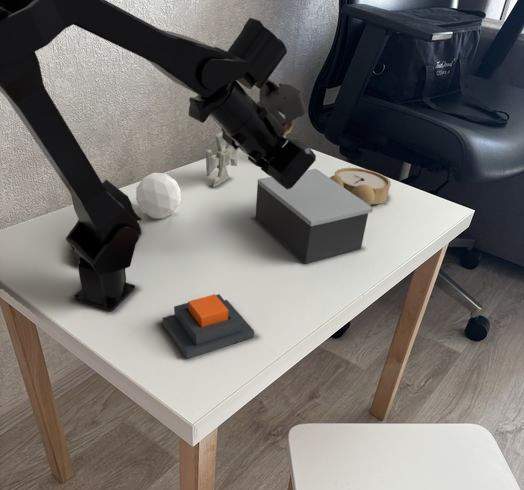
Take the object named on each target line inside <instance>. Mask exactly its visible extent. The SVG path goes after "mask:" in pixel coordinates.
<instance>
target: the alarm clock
mask: <svg viewBox="0 0 524 490" xmlns="http://www.w3.org/2000/svg"><path fill="white" fill-rule="evenodd" d="M329 178H330V179H332V180H333V181H335V182H336V183H338V184H339V185H340V186H342V187H343V188H345V189H346V190H348V191H349V192H351V193H352V194H354V195H355V196H356V197H358V198H359V199H361V200H362V201H364V202H365V203H367V204H368V205H370V206H371V207H372V205H380V204H383V203H385V202H386V201H387V200H388V196H389V191H390V187H391V185H392V183H391V180H390V179H389V178H388V177H387V176H385V175H383V174H382V173H379V172H376V171H373V170H370V169H367V168H359V167H343V168H340V169H337V170H336V171H334V174H333V175H331V176H330V177H329Z"/></svg>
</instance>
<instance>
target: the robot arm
mask: <svg viewBox="0 0 524 490" xmlns="http://www.w3.org/2000/svg"><path fill="white" fill-rule="evenodd" d="M71 26H75V27H77V28H80V29H82V30H84V31H86V32H89V33H90V34H92V35H94V36H97V37H99V38H101V39H103V40H105V41H107V42H109V43H111V44H113V45H115V46H117V47H120V48H121V49H123V50H126V51H128V52H130V53H132V54H134V55H136V56H139V57H140V58H143V59H144V60H146V61H147V62H149V63H150V64H151V65H152V66H153V67H154V68H155V69H157V70H158V71H159V72H160V73H162V74H163V75H164V76H166V78H168V79H169V80H171V81H172V82H174V84H175V83H176V84H177V85H178V86H181V87H183V88H185V89H187V90H189V91H190V92H192V93H195V94H197V95H196V96H192V97H189V99H188V102H189V107H188V116H189V117H190V118H192V119H193V120H195V121H198V122H199V123H202V124H203V123H205V122H207V120H208V118H209V117H210V118H212V120H213V121H214V122H215V123H216V124H217V125H218V126H219V127H220V130H221V132H222V138H223V139H224V140H225V141H226V144H227V145H228V146H231V147H232V148H234V149H235V150H236V151H237V152H238V150H240V151H242V152H243V153H244V154H245V155H246V156H247V160H248V161H250V163H252V164H253V165H254V166H256V167H258V168H260V170H261V171H262V172H264V173H265V174H266V175H267V176H269V177H272V178H273V179H274V180H275V181H277V182H278V183H279V184H280V185H282V186H283V187H284V188H285V189H291V188H292V187H293V186H294V185H295V184H296V183H297V181H298V180H299V179H300V178H301V177H302V176H303V174H304V173H305V172H306V171H307V170H310V167H311V166H312V165H313V164H314V163H315V162H316V161H317V155H316V153H314V151H313V150H312V148H310V147H309V146H308V145H306V144H305V143H303V142H302V141H300V140H299V139H289V138H288V137H286V138H284V137H283V136H282V135H283V134H284V133H285V132H286V131H285V129H286V128H285V129H284V128H283V127H282V126H285V125H287V124H288V123H290V122H291V121H293V120H294V121H295V120H296V119H298V118H302V117H303V116H304V115H305V114H306V112H307V110H306V106H305V103H304V98H303V95H302V91H301V90H299V89H298V88H297V87H294V86H292V85H291V84H288V83H282V82H280V83H278V85H277V84H276V83H275V82H274V81H272V80H271V79H270V76H272V74H273V73H274V72H275V70H276V68H277V67H278V66H279V64H280V63H281V61H283V59H284V57H285V56H286V55H287V53H288V50H287V47H286V45H285V42H283V40H282V39H280V38H279V37H277V36H276V35H275V34H274V33H273V32H272V31H271V30H270V29H268V28H267V27H266V26H264V24H263V23H262V21H261V20H259V19H256V18H255V17H254V18H253V17H249V18H248V19H247V21H246V22H245V23H244V25H243V28H242V29H241V31H240V33H239V34H238V36H237V37H236V39H235V40H234V41H233V43H232V44H231V45H230V47H229V48H228V49H227V50H224V49H222V48H220V47H217V46H211V45H210V44H207V43H204V42H202V41H200V40H197V39H195V38H193V37H190V36H187V35H184V34H181V33H177V32H174V31H169V30H164V29H161V28H158V27H156V26H154V25H152V24H150V23H149V22H147V21H145V20H144V19H141V18H140V17H137V16H135V15H133V14H132V13H130V12H128V11H126V10H124V9H123V8H121V7H119V6H117V5H115V4H114V3H111V2H109V1H108V0H0V93H1V94H2V95H3V97H4V98H5V99H6V100H7V101H8V103H9V104H10V106H11V107H12V109H13V110H14V111H15V113H16V114H17V116H18V118H19V119H20V121H21V122H22V123H23V125H24V127H26V129H27V131H28V133H29V134H30V135H31V137H32V138H33V140H34V141H35V143H36V144H37V146H38V148H39V149H40V151H41V152H42V154H43V155H44V157H46V159H47V161H48V162H49V164H50V165H51V167H52V168H53V170H54V171H55V173H56V174H57V175H58V177H59V178H60V180H61V181H62V183H63V184H64V186H65V187H66V189H67V191H68V192H69V194H70V197H71V200H72V206H73V210H74V212H75V215H76V217H77V219H78V220H77V221H76V223H75V224H74V226H73V227H72V228H71V230H70V231H69V232H68V234H67V236H66V237H65V240H66V242H67V244H68V245H69V247H70V249H71V250H72V249H73V250H74V251H75V252H76V253H77V254H78V255H79V256H80V258H79V261H80V263H79V264H78V266H77V270H78V277H79V281H80V288H81V289H80V290H79V291H78V292H76V293H75V294H73V295H74V296H73V298H74V300H75V301H77V302H80V303H83V304H86V305H90V306H93V307H96V308H100V309H103V310H105V311H110V312H112V311H115V310H116V309H117V308H118V307H119V306H120V305H121V304H122V303H123V302H124V301H125V300H126V299H127V298H128V297H130V295H131V294H132V293H133V292H134V291H135V290H136V285H135V284H131V283H128V282H127V274H126V272H127V271H126V269H128V268H130V267H131V265H132V260H133V257H134V253H135V249H136V246H137V243H138V242H139V239H140V236H141V235H142V227H141V226H140V223H139V222H141V221H142V220H143V219H142V217H141V216H140V215H138V214H137V213H136V212H135V209H134V206H133V204H132V201H131V199H130V198H129V196H128V195H127V194H126V193H125V192H123V191H122V190H121V189H120V188H118V187H117V186H116V185H114V184H113V183H112V182H110V180H108V179H105V180H104V181H102V180H101V178H100V176H99V175H98V173H97V172H96V170H95V169H94V167H93V166H92V164H91V162H90V160H89V158H88V157H87V155H86V153H85V152H84V151H83V148H82V147H81V145H80V144H79V142H78V140H77V139H76V137H75V135H74V133H73V132H72V131H71V128H70V127H69V126H68V124H67V122H66V120H65V119H64V117H63V116H62V113H61V112H60V111H59V109H58V107H57V105H56V103H54V101H53V99H52V97H51V96H50V93H49V92H48V91H47V89H46V86H45V84H44V80H43V75H42V70H41V65H40V61H39V58H38V56H37V53H36V52H38V51H39V50H41V49H43V48H46V47H47V46H49V44H50V43H51V42H53V41H54V40H55V39H56V38H57V37H58V36H59V35H60V34H61V33H62V32H64V30H66V29H67V28H69V27H71ZM242 86H243V87H245V88H247V89H249V90H253V87H256V88H257V89H259V93H258V94H259V97H258V98H259V101H258V102H256V101H255V100H254V99H253V98H251V96H250V95H249V93H248V92H247V91H246V90H245V88H243V87H242ZM285 127H286V126H285ZM235 143H237V145H236V144H235Z"/></svg>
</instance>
